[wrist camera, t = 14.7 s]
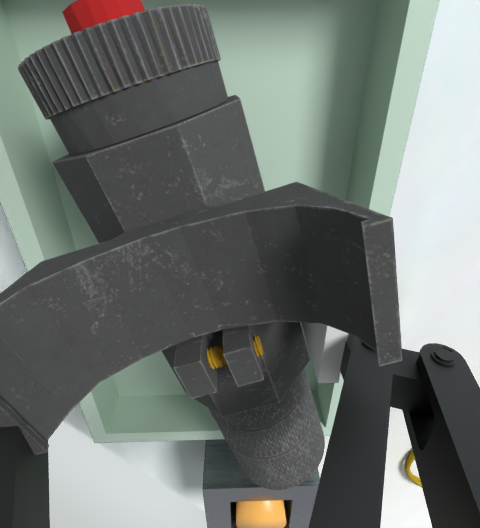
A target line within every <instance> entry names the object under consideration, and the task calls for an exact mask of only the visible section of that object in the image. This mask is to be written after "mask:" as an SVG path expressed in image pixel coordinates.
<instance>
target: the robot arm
mask: <svg viewBox="0 0 480 528" xmlns="http://www.w3.org/2000/svg"><path fill="white" fill-rule="evenodd" d="M301 324H302V328H303V331H304V335H305V338H306V342H307V346H308V349H309V353H310V356H311V360H312V363H313V367H314V370H315V374H316V378H317V381H318V383H339V378H340V373H341V374H342V377H343V380H344V382H343V386H342V390H341V394H340V398H339V403H338V407H337V411H336V415H335V419H334V423H333V428H332V432H331V436H330V440H329V444H328V448H327V452H326V457H325V461H324V465H323V469H322V473H321V477H320V482H319V486H318V490H317V494H316V498H315V502H314V507H313V511H312V515H311V519H310V523H309V527H308V528H380V522H381V510H382V498H383V486H384V474H385V462H386V450H387V438H388V426H389V414H390V407H394V408H398V409H402V410H403V414H404V418H405V422H406V425H407V429H408V433H409V437H410V441H411V445H412V449H413V453H414V457H415V461H416V464H417V468H418V472H419V476H420V480H421V484H422V488H423V492H424V496H425V500H426V504H427V507H428V511H429V515H430V519H431V523H432V527H433V528H480V388H479V386H478V384H477V382H476V380H475V378H474V376H473V374H472V372H471V370H470V368H469V366H468V365H467V363H466V361H465V359H464V358H463V357H462V356H461V354H459V353H458V352H456V351H455V350H454V349H452V348H450V347H447V346H445V345H441V344H427V345H424V346H423V347H422V348H421V350H420V353H419V352H415V351H410V350H405V349H402V361H399V362H395V363H391V364H387V365H383V366H379V364H378V357H377V352H376V351H375V350H374V349H372V348H371V347H370V346H368V345H367V344H366V343H364V342H363V341H361V340H360V339H359V338H357V337H356V336H354V335H351V334H348V333H346V332H343V331H340V330H338V329H335V328H332V327H330V326H327V325H324V324H322V323H304V322H301ZM18 415H19V416H20V414H18ZM46 443H47V444H48V440H47V442H46ZM48 474H49V473H48V451H47V452H45V453H41V454H38V455H34V453H33V451H32V449H31V448H30V446H29V444H28V442H27V440H26V439H25V437H24V435H23V433H22V431H21V429H20V428H19V426H10V427H0V528H50V520H49V478H48V477H49V475H48Z"/></svg>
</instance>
